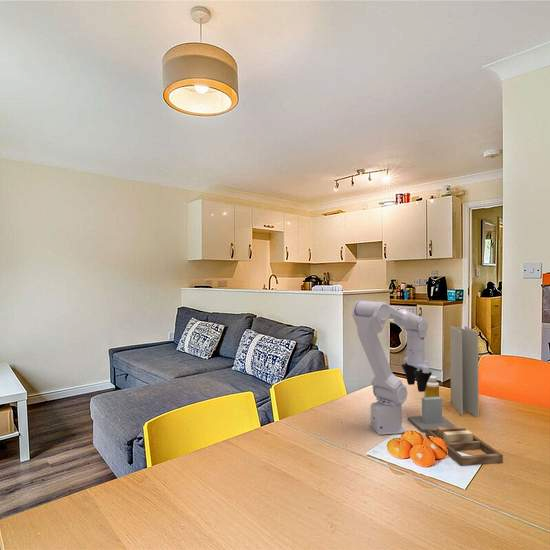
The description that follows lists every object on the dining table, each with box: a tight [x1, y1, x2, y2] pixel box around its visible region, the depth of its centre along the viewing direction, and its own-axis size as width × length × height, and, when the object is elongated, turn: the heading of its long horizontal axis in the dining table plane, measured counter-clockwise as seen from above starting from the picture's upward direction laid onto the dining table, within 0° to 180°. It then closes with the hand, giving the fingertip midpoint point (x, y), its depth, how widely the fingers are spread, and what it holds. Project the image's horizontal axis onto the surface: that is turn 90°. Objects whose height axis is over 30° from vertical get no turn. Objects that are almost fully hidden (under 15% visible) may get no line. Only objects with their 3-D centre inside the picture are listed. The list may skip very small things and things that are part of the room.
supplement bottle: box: [423, 374, 440, 398], centre depth 144 cm, size 5×5×10 cm
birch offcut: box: [443, 429, 474, 443], centre depth 107 cm, size 8×2×4 cm, turn 96°
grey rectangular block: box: [421, 396, 443, 424], centre depth 122 cm, size 6×2×8 cm, turn 97°
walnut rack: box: [425, 428, 504, 467], centre depth 106 cm, size 12×18×2 cm, turn 6°
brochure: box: [449, 325, 480, 418], centre depth 135 cm, size 14×6×30 cm, turn 168°
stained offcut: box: [437, 425, 466, 439], centre depth 111 cm, size 8×2×4 cm, turn 96°
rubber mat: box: [407, 415, 456, 434], centre depth 122 cm, size 12×10×1 cm
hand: (416, 387), depth 128 cm, fingers open, 7 cm apart
